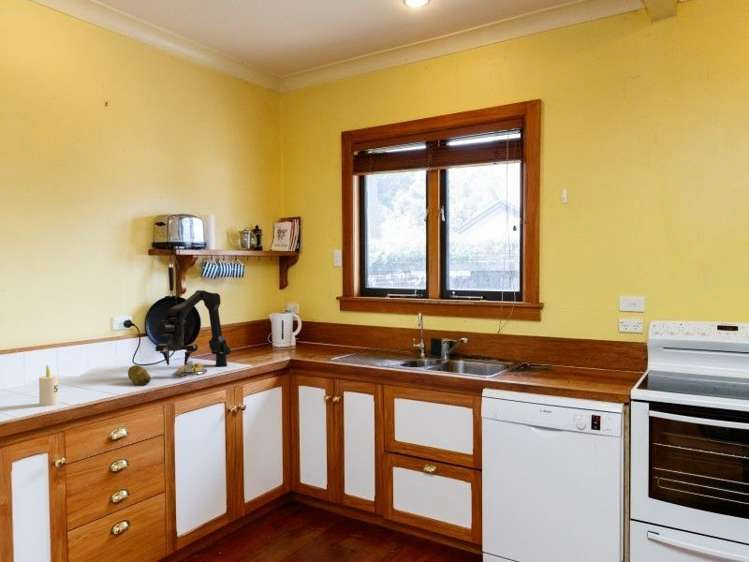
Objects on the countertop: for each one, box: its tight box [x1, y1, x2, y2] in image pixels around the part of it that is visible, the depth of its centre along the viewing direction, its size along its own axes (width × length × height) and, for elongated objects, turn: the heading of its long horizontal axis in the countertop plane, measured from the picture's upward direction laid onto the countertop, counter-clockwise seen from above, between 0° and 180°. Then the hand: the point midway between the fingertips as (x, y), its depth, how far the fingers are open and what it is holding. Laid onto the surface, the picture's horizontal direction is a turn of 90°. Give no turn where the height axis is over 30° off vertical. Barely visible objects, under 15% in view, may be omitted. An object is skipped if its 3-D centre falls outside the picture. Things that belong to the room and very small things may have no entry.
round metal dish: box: [174, 367, 208, 377], centre depth 282 cm, size 15×15×3 cm
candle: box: [38, 365, 59, 407], centre depth 219 cm, size 6×6×15 cm
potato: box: [127, 364, 152, 386], centre depth 257 cm, size 8×13×8 cm, turn 34°
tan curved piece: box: [178, 360, 204, 372], centre depth 279 cm, size 18×11×5 cm, turn 10°
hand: (176, 365), depth 275 cm, fingers open, 8 cm apart
